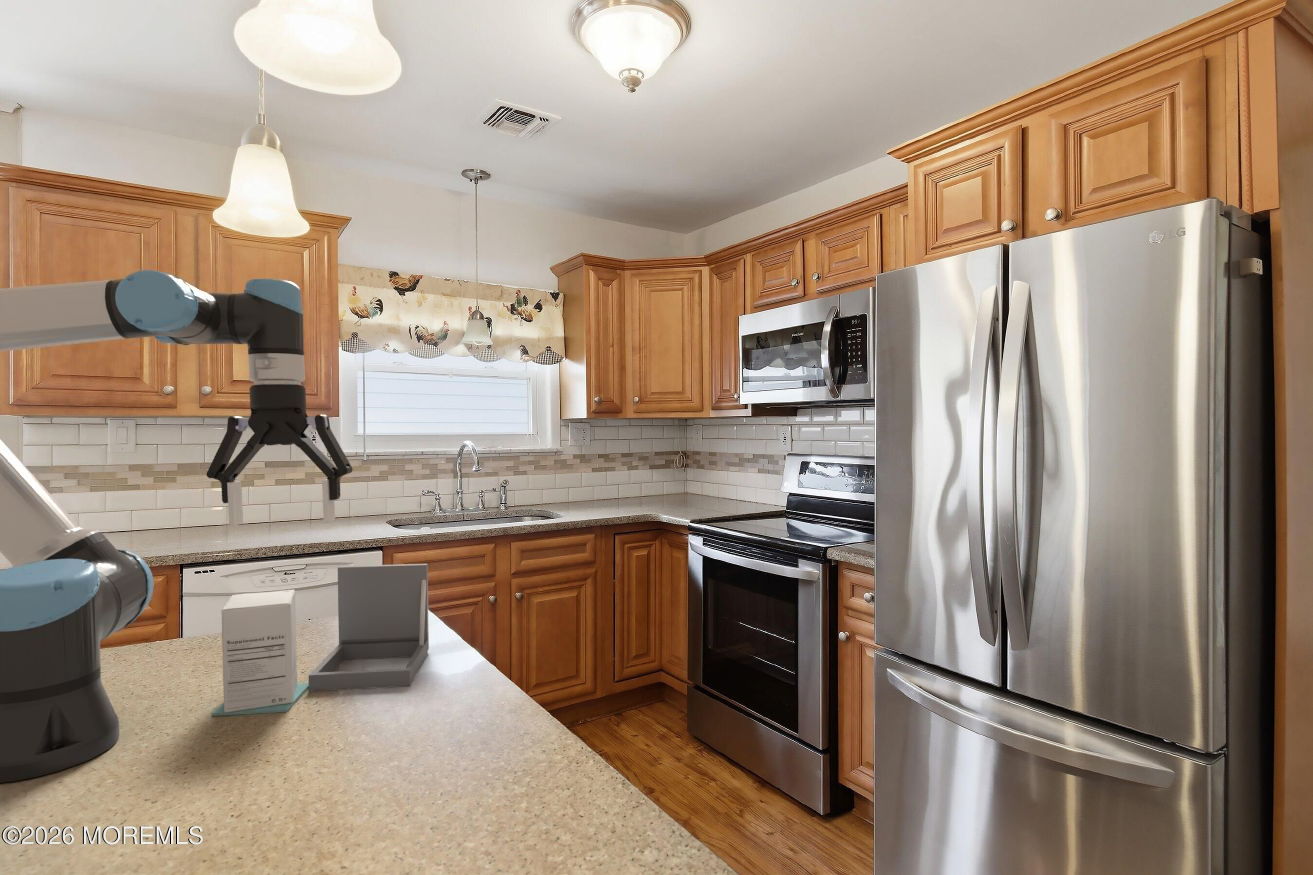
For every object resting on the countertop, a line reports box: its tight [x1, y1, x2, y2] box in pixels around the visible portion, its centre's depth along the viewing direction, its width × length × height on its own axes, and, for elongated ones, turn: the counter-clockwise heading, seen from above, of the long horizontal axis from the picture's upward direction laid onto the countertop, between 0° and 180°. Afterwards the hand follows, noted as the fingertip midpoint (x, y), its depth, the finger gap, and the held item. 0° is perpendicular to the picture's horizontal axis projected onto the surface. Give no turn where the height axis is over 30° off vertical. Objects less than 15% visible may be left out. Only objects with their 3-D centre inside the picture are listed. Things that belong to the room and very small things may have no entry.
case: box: [308, 563, 430, 692], centre depth 117 cm, size 15×16×16 cm
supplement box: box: [221, 589, 298, 713], centre depth 105 cm, size 9×9×15 cm
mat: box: [211, 682, 309, 717], centre depth 105 cm, size 10×10×1 cm
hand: (283, 523), depth 107 cm, fingers open, 13 cm apart
